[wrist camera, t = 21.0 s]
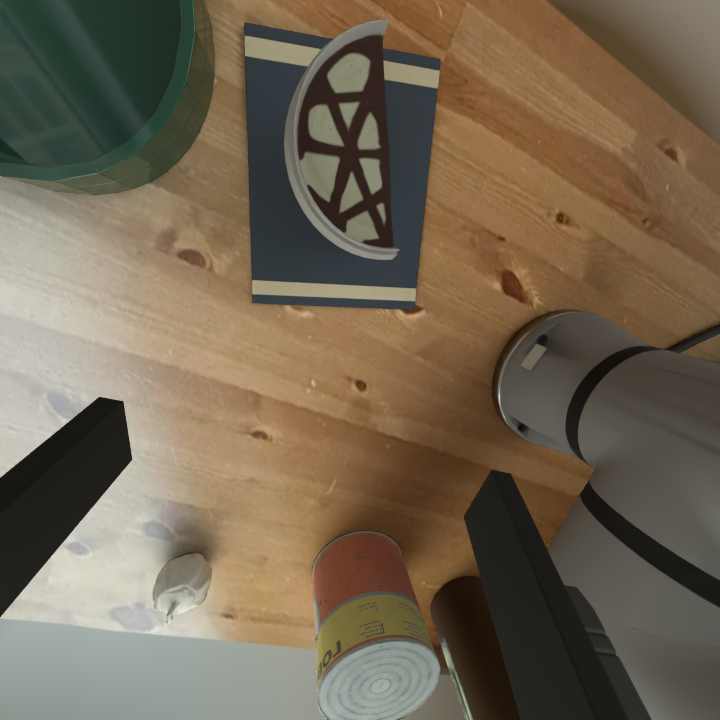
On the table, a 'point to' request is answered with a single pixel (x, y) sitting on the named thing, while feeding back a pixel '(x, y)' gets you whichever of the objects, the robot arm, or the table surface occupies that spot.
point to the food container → (344, 143)
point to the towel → (282, 210)
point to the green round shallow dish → (101, 90)
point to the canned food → (369, 632)
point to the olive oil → (473, 651)
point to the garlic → (182, 584)
